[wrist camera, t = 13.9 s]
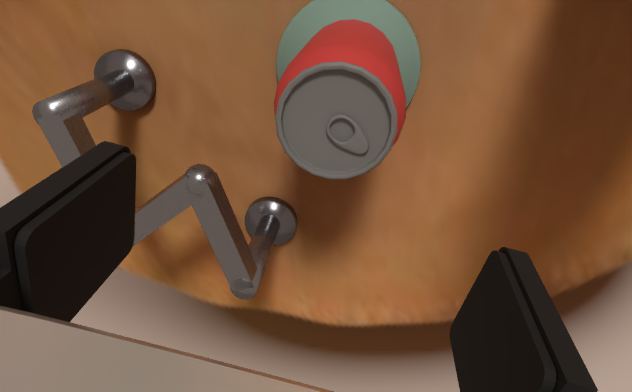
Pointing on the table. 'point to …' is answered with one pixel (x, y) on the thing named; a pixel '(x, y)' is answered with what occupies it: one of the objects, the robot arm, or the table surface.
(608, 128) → the table surface
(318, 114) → the beer can
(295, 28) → the coaster
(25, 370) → the robot arm
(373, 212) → the table surface
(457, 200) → the table surface
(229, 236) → the zigzag metal bar linkage
